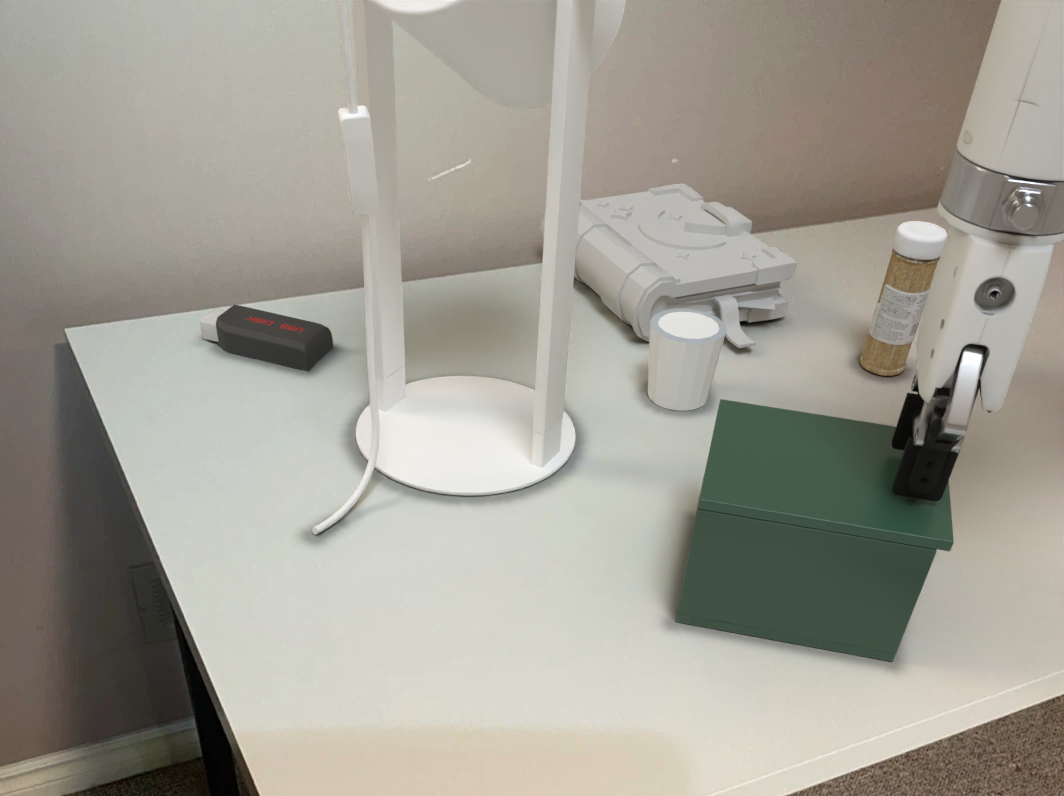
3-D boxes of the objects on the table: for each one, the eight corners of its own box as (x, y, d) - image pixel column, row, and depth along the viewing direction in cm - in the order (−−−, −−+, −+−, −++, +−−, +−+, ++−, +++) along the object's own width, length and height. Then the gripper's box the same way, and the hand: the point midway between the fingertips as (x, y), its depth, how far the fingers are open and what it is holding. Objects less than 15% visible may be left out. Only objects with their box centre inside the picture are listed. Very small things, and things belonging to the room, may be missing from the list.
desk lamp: (635, 407, 99) (721, -244, 67) (446, 590, 79) (439, -210, 47) (446, 345, 106) (441, -273, 74) (228, 499, 86) (92, -255, 54)
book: (657, 372, 104) (668, 295, 99) (534, 257, 121) (538, 186, 116) (820, 340, 110) (839, 266, 105) (681, 235, 128) (691, 167, 122)
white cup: (679, 370, 104) (691, 300, 99) (728, 401, 101) (742, 330, 96) (626, 389, 101) (634, 318, 96) (674, 421, 98) (686, 349, 93)
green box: (891, 550, 85) (930, 442, 78) (892, 662, 76) (937, 550, 69) (697, 517, 87) (718, 408, 80) (675, 622, 78) (696, 509, 71)
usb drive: (307, 371, 101) (304, 343, 99) (197, 345, 104) (192, 317, 102) (333, 347, 105) (331, 320, 103) (226, 322, 107) (222, 295, 105)
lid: (941, 443, 78) (965, 380, 75) (950, 552, 69) (977, 485, 65) (718, 408, 80) (730, 345, 77) (697, 509, 71) (709, 442, 67)
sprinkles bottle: (875, 351, 109) (915, 215, 100) (913, 368, 107) (959, 230, 97) (849, 364, 107) (888, 226, 97) (887, 382, 105) (931, 243, 95)
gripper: (1105, 262, 54) (978, 555, 67) (1065, 151, 65) (964, 418, 78) (951, 242, 55) (856, 534, 68) (939, 136, 66) (860, 402, 79)
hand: (915, 469), depth 73 cm, fingers closed on lid, 5 cm apart
